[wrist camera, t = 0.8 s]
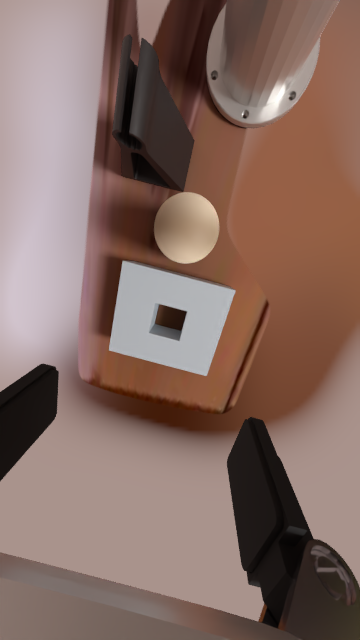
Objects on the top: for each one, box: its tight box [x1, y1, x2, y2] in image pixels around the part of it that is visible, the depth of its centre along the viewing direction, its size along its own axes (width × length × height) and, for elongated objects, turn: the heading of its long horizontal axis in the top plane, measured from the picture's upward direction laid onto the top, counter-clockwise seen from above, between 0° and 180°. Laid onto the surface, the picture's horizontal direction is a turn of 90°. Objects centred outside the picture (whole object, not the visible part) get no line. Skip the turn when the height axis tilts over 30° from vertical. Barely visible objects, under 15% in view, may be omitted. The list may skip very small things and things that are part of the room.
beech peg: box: [154, 192, 219, 263], centre depth 25 cm, size 6×6×11 cm
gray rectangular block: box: [109, 261, 235, 376], centre depth 31 cm, size 14×16×4 cm
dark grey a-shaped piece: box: [112, 35, 194, 192], centre depth 21 cm, size 9×6×12 cm, turn 76°
